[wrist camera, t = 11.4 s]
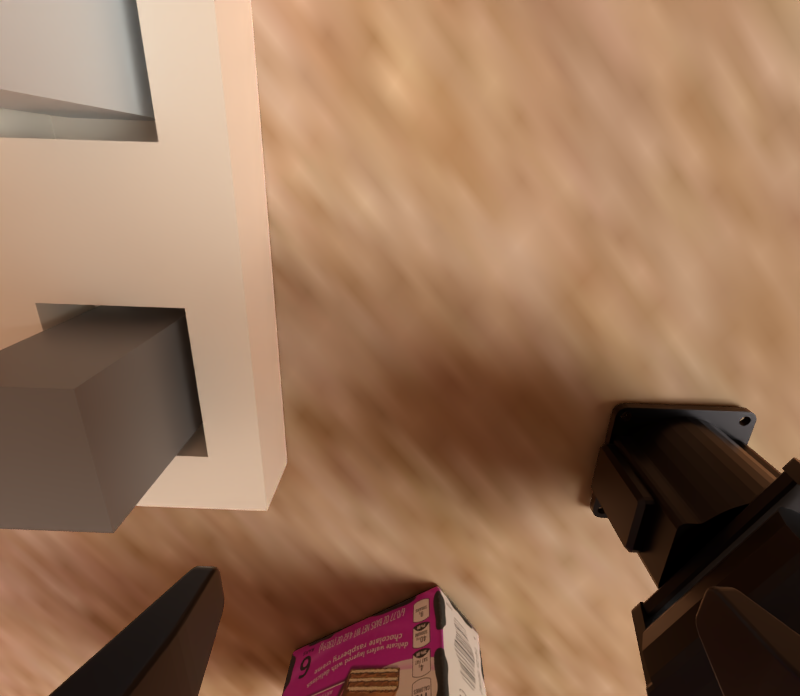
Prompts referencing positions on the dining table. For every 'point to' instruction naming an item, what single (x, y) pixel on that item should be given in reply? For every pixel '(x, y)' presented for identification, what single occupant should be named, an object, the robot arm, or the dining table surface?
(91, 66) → the plug
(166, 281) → the power strip
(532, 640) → the dining table surface
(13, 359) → the twin plug
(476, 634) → the candy bar box
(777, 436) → the dining table surface
